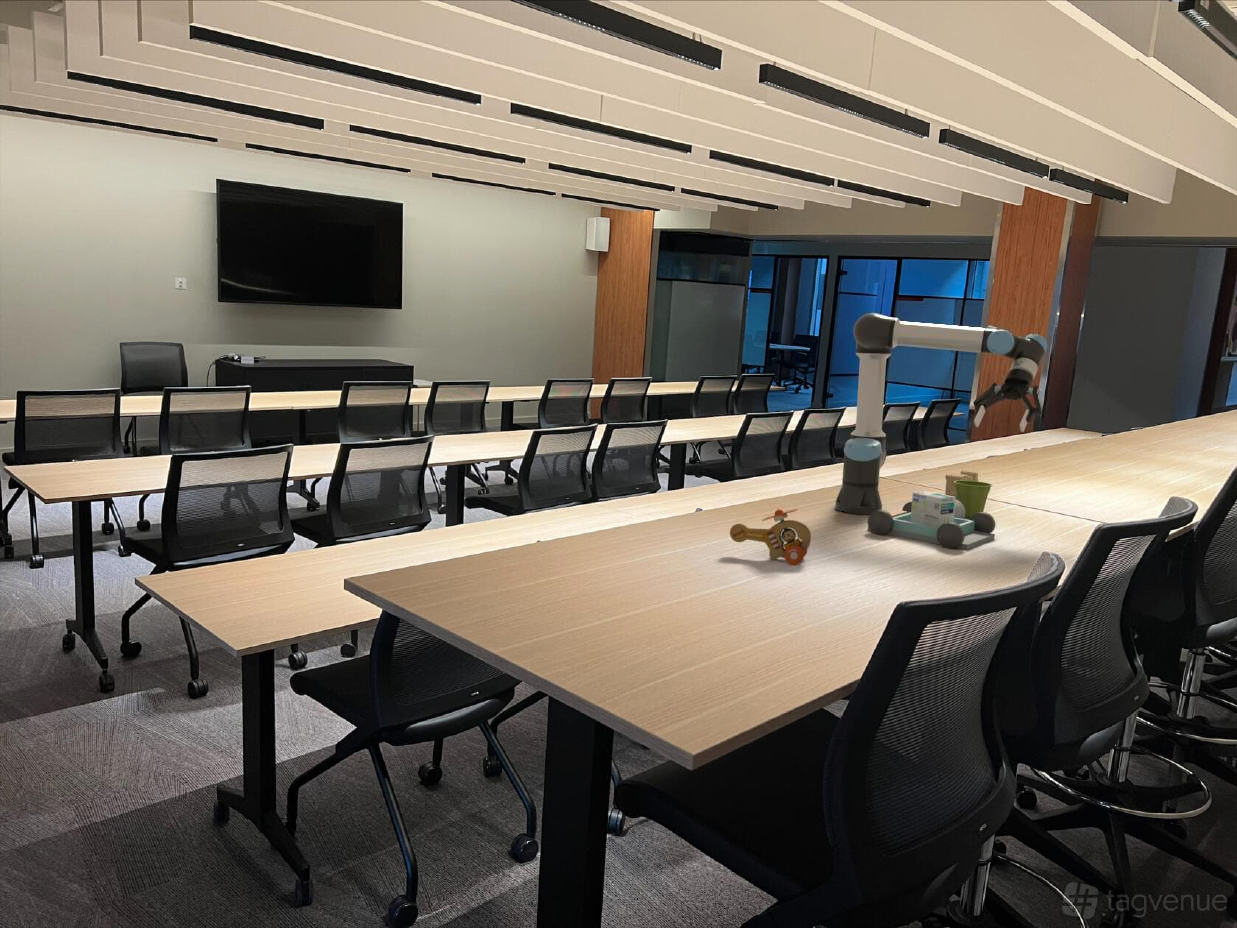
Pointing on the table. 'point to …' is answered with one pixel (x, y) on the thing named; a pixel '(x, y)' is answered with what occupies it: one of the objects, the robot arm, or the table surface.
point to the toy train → (955, 477)
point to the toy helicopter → (778, 537)
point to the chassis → (934, 528)
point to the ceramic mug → (959, 510)
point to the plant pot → (972, 495)
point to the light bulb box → (932, 508)
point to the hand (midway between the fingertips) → (998, 426)
